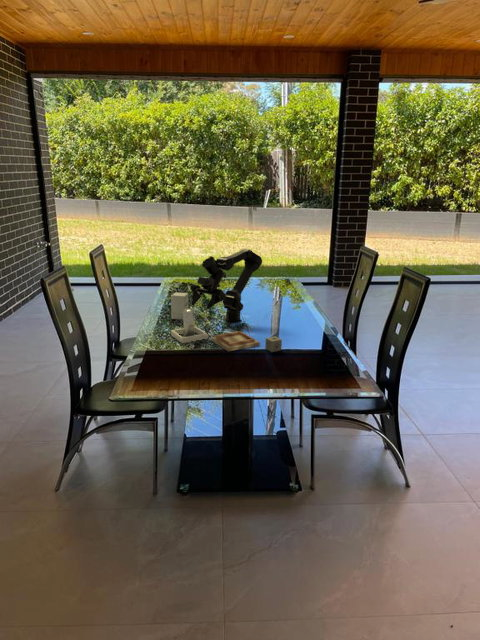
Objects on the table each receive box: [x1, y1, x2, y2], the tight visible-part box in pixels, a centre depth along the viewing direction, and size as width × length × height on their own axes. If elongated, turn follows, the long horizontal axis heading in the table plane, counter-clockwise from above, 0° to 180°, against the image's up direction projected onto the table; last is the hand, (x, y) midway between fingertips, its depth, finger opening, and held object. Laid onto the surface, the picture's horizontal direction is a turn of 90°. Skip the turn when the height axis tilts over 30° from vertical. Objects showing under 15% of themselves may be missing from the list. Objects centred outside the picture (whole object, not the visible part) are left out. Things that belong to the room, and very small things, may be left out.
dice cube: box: [264, 335, 283, 353], centre depth 222 cm, size 5×5×5 cm
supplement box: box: [170, 292, 189, 321], centre depth 265 cm, size 7×7×13 cm
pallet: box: [211, 331, 261, 352], centre depth 230 cm, size 16×16×3 cm
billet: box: [182, 308, 196, 337], centre depth 235 cm, size 5×5×13 cm
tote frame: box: [170, 325, 208, 344], centre depth 236 cm, size 13×13×2 cm
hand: (199, 306), depth 239 cm, fingers open, 9 cm apart
